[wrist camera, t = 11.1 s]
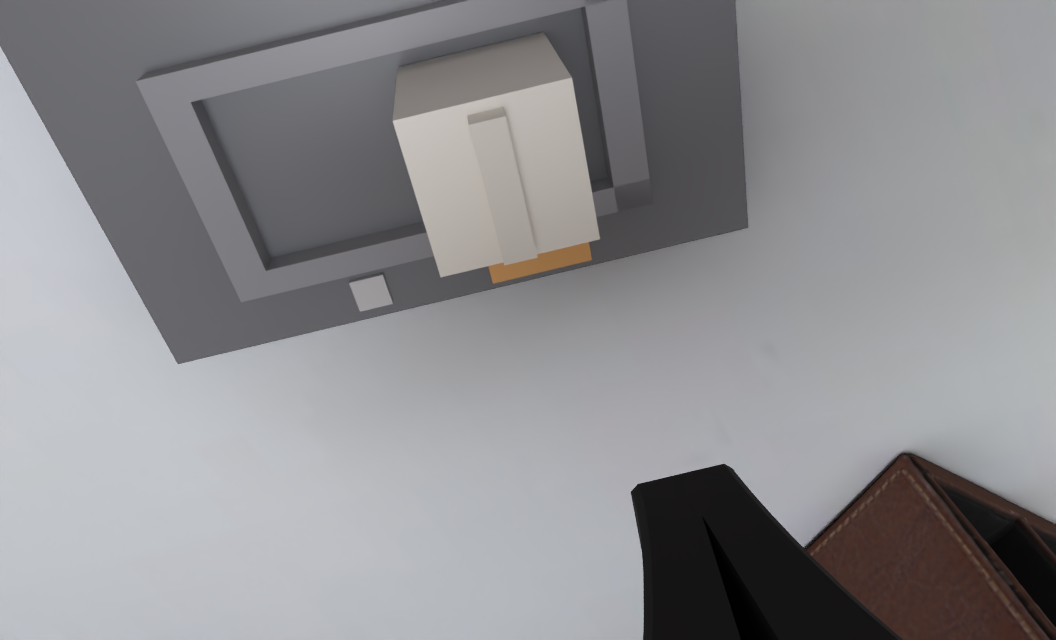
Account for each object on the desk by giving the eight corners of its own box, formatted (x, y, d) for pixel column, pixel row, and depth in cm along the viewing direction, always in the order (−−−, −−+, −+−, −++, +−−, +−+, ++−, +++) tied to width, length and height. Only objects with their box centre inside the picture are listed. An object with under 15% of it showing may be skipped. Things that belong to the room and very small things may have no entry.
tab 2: (543, 32, 16) (577, 85, 12) (569, 170, 17) (605, 251, 14) (397, 66, 16) (391, 130, 12) (437, 201, 17) (441, 290, 14)
